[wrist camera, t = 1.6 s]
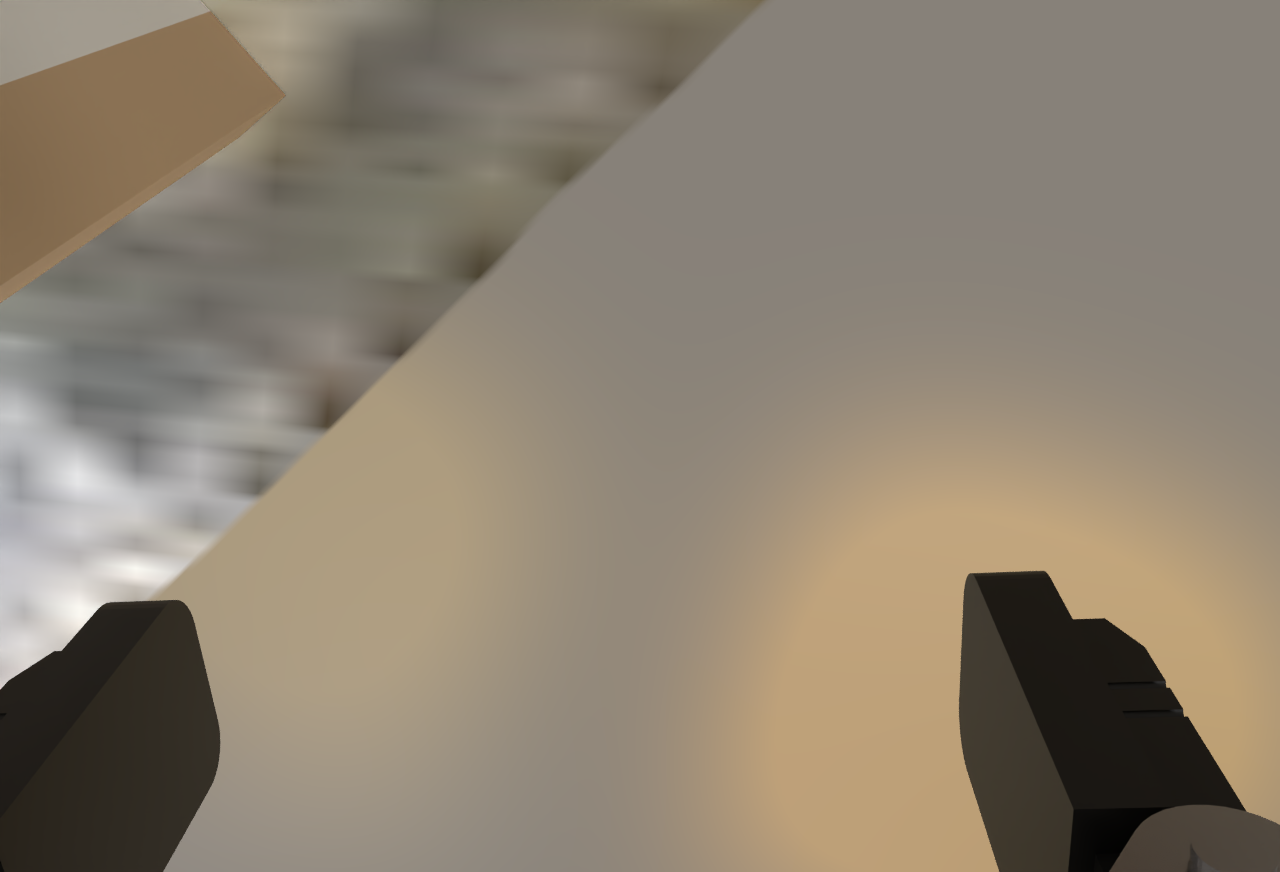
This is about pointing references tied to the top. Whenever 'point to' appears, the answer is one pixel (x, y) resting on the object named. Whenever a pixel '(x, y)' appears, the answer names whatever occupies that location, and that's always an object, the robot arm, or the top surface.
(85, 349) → the top surface
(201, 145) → the headboard panel
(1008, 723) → the robot arm
